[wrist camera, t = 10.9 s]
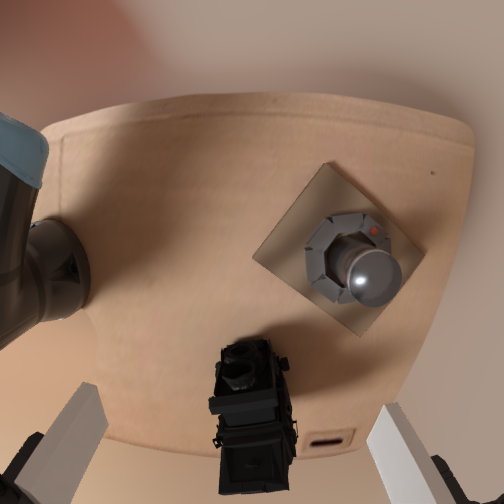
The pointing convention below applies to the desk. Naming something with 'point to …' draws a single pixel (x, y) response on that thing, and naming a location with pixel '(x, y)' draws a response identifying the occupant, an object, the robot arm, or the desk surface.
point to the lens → (365, 270)
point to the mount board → (321, 237)
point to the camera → (253, 419)
